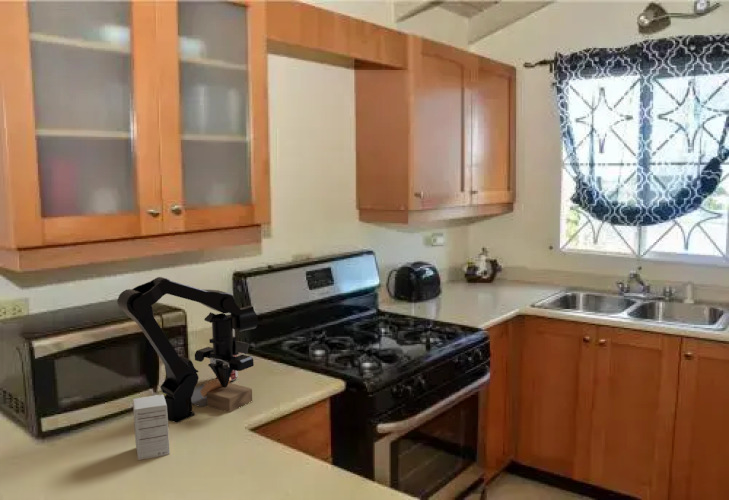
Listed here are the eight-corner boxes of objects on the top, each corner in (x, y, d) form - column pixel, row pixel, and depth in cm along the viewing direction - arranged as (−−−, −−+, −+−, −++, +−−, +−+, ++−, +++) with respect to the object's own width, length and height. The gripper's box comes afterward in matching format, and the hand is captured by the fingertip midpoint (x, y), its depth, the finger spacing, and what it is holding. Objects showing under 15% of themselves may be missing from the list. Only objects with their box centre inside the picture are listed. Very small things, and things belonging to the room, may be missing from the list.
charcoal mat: (202, 407, 170) (202, 405, 170) (171, 398, 177) (171, 396, 177) (232, 393, 180) (232, 392, 180) (202, 385, 187) (202, 384, 187)
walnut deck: (229, 412, 166) (229, 398, 166) (207, 405, 171) (206, 392, 170) (252, 401, 174) (251, 388, 173) (230, 395, 178) (229, 382, 178)
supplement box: (135, 447, 145) (132, 398, 144) (167, 442, 148) (164, 393, 147) (136, 461, 139) (133, 409, 137) (170, 454, 142) (167, 404, 140)
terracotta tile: (211, 387, 170) (207, 382, 170) (203, 397, 172) (199, 391, 173) (231, 379, 177) (228, 373, 177) (224, 388, 179) (220, 383, 179)
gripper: (266, 333, 172) (267, 384, 174) (221, 324, 182) (223, 373, 184) (238, 342, 163) (240, 397, 165) (192, 332, 173) (194, 384, 175)
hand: (224, 387), depth 173 cm, fingers closed
